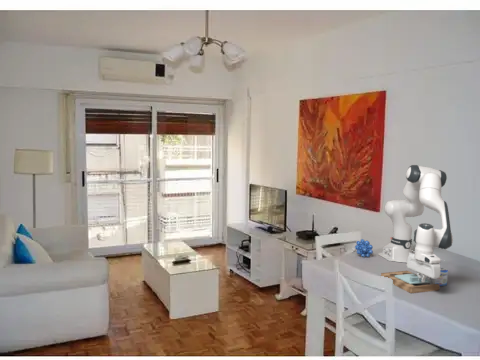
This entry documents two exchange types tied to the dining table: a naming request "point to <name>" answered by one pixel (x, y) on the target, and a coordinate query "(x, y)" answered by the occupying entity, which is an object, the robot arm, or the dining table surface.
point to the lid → (411, 278)
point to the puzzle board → (407, 286)
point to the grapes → (363, 248)
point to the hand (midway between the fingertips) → (421, 281)
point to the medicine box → (440, 278)
